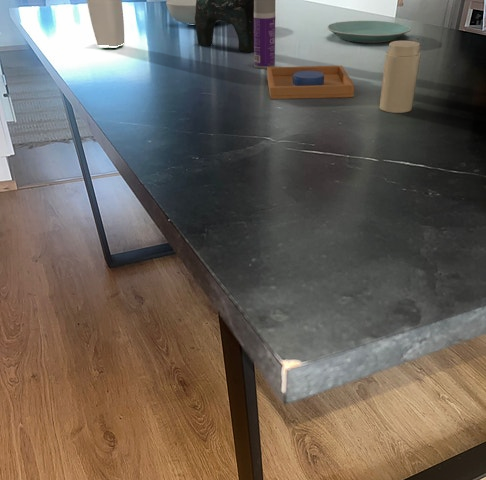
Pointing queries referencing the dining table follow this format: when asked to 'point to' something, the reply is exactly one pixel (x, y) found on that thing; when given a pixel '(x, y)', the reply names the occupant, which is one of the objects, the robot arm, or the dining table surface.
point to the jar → (400, 76)
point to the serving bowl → (183, 10)
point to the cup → (107, 21)
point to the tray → (333, 86)
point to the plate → (368, 31)
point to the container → (264, 33)
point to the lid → (308, 78)
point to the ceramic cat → (226, 20)
